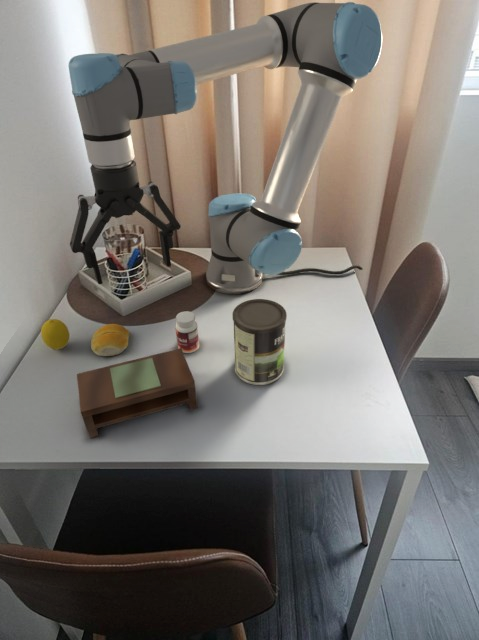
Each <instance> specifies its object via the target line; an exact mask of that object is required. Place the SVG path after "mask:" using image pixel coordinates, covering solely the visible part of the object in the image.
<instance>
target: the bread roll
mask: <svg viewBox="0 0 479 640" xmlns="http://www.w3.org/2000/svg"><path fill="white" fill-rule="evenodd" d="M129 340H130V331H129V330H128V328H126V327H125V326H124V325H121V324H118V323H108V324H104V325H102V326H100V327H99V328H98V329H97V330H95V332H94V334H93V335H92V336H91V340H90V348H91V351H92V352H93V353H94V354H95V355H97V356H100V357H112V356H117V355H120V354H121V353H122V352H123V351H124V350H126V349H127V347H128V345H129Z"/></svg>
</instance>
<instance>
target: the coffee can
mask: <svg viewBox="0 0 479 640" xmlns="http://www.w3.org/2000/svg"><path fill="white" fill-rule="evenodd" d="M232 321H233V345H234V372H235V374H236V376H237V377H238V378H239V379H240V380H241V381H243V382H245V383H247V384H249V385H254V386H265V385H269V384H272V383H275V382H276V381H277V380H279V379H280V378H281V377H282V375H283V373H284V369H285V367H284V361H285V360H284V359H285V341H286V324H287V323H286V321H287V310H286V309H285V307H284V306H283V305H282V304H280V303H278V302H276V301H273V300H271V299H265V298H253V299H248V300H245V301H243V302H240V303H239V304H238V305H237V306H236V307H235V308H234V309H233V311H232Z"/></svg>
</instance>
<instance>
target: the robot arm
mask: <svg viewBox="0 0 479 640" xmlns="http://www.w3.org/2000/svg"><path fill="white" fill-rule="evenodd" d="M381 26H382V25H381V20H380V19H379V16H378V15H377V13H376V12H375V10H374V9H373V8H372V7H370V6H368V5H366V4H361V3H355V2H353V1H348V2H315V1H314V2H307V3H302V4H299V5H296V6H293V7H291V8H287V9H284V10H280V11H277V12H274V13H271V14H267V15H263V16H261V17H260V18H259V19H258V20H257V22H256V23H255V24H251V25H246V26H243V27H238V28H233V29H230V30H225V31H222V32H218V33H214V34H209V35H205V36H202V37H197V38H193V39H189V40H185V41H181V42H177V43H172V44H169V45H164V46H161V47H156V48H152V49H148V50H145V51H141V52H135V53H131V54H127V53H117V54H115V53H109V52H104V53H103V52H98V53H84V54H78V55H75V56H73V57H71V58H70V59H69V61H68V72H69V79H70V85H71V93H72V95H73V98H74V103H75V107H76V110H77V114H78V119H79V123H80V126H81V131H82V136H83V140H84V145H85V150H86V155H87V159H88V163H90V164H91V165H90V167H89V169H90V174H91V177H92V181H93V186H94V195H90V196H89V195H87V196H84V194H78V195H77V204H78V205H77V206H78V209H77V213H76V218H75V221H74V225H73V229H72V233H71V236H70V237H71V238H70V241H69V246H70V249H71V251H72V253H74V254H78V253H80V254H82V255H83V259H84V263H85V266H86V268H88V269H92V270H93V273H94V277H95V279H96V281H97V284H98V285H102V284H104V283H103V279H102V276H101V271H100V267H99V263H98V259H97V255H96V252H95V250H94V246H95V244H96V243H97V241H98V239H99V237H100V235H101V234H102V232H103V231H104V229H105V227H106V226H107V224H108V223H110V221H111V219H112V218H115V219H119V218H121V217H123V216H133V215H134V214H135V212H137V213H139V215H141V216H143V217H144V218H145V219H147V220H148V221H149V222H150V223H151V224H153V225H154V226H156V227H157V228H158V229H159V230H160V231H158V235H159V243H160V249H161V256H162V261H163V263H164V264H165V266H166V267H167V268H169V267H172V263H171V256H170V254H171V253H170V250H171V249H173V248H174V241H173V236H174V232H175V231H176V230H178V231H179V230H180V229H181V228H182V226H181V224H180V222H179V221H178V219H177V218H176V217H175V215H174V213H173V212H172V210H170V208H169V207H168V205H167V204H166V202H165V201H164V199H163V198H162V197H161V193H160V189H159V186H157V184H156V183H155V182H154V181H149V182H148V183H147V185H143V186H141V185H140V179H139V173H138V168H137V167H138V166H137V162H136V161H135V160H134V159H135V156H136V155H135V150H134V143H133V137H132V129H131V125H130V123H131V122H130V121H136V120H141V119H147V118H153V117H162V116H169V115H178V114H180V113H184V112H187V111H190V110H192V108H194V107H195V105H196V103H197V99H198V87H197V85H201V84H205V83H208V82H212V81H215V80H219V79H223V78H227V77H229V76H233V75H236V74H240V73H243V72H247V71H251V70H254V69H258V68H261V67H264V68H265V69H266V70H274V69H278V68H284V67H285V68H286V67H289V68H290V67H291V68H298V69H297V74H298V77H299V79H300V84H301V85H300V87H299V90H298V93H297V95H296V99H295V101H294V104H293V107H292V109H291V113H290V116H289V119H288V121H287V123H286V127H285V129H284V134H283V136H282V139H281V142H280V145H279V148H278V149H277V153H276V155H275V159H274V161H273V164H272V167H271V170H270V173H269V176H268V178H267V181H266V184H265V187H264V190H263V192H262V195H261V198H260V199H258V200H256V197H255V196H254V195H252V194H249V193H239V192H238V193H237V192H236V193H229V194H228V193H227V194H224V195H219V196H216V197H215V198H213V199H212V200H211V201H210V202H209V203H208V212H207V213H208V214H207V217H208V223H209V225H208V226H209V236H210V250H211V255H210V259H209V261H208V265H207V269H206V272H205V279H206V284H207V286H208V287H209V288H210V289H212V290H213V291H215V292H218V293H221V294H226V295H239V294H240V295H241V294H245V293H249V292H252V291H253V290H256V289H257V288H258V287H259V286H260V285H261V284H262V282H263V275H267V276H276V275H277V276H287V275H289V276H290V275H295V274H300V273H306V272H307V273H308V272H314V273H323V274H327V275H343V274H347V273H348V272H350V271H352V270H354V269H358V270H359V271H363V270H364V268H363V267H362V266H361V265H359V264H353V265H351V266H349V267H347V268H345V269H342V270H327V269H322V268H315V267H308V268H300V269H293V270H289V268H291V267H292V266H293V265H294V264H295V262H296V261H297V260H298V258H299V256H300V254H301V252H302V249H303V242H302V237H301V235H300V234H299V232H298V231H299V228H300V225H301V222H302V220H301V218H300V216H299V209H300V207H301V203H302V201H303V198H304V196H305V193H306V191H307V188H308V187H309V183H310V181H311V179H312V175H313V174H314V170H315V168H316V165H317V162H318V160H319V158H320V155H321V152H322V149H323V147H324V144H325V142H326V139H327V137H328V134H329V133H330V129H331V126H332V124H333V121H334V118H335V116H336V113H337V111H338V108H339V106H340V103H341V101H342V99H343V98H344V97H346V96H348V95H350V94H351V93H353V90H354V89H355V85H356V83H357V80H360V79H362V78H365V77H367V76H368V75H369V74H370V73H372V71H373V70H374V69H375V67H376V65H377V63H378V61H379V59H380V56H381V52H382V46H383V31H382V27H381ZM144 195H146V196H147V197H149V198H150V199H152V200H153V201H154V203H155V204H156V206H157V207H158V208H159V210H160V211H161V212H162V214H163V215H164V216H165V218H166V219H167V221H168V223H166V222H164V221H163V220H162V219H161V218H159V216H158V215H156V214H154V213H153V212H152V211H150V209H148V208H147V207H146V206H144V204H142V203H141V201H142V200H143V197H144ZM95 204H96V205H97V206H98V207H99V210H98V212H97V215H96V217H95V219H94V220H93V222H92V224H91V226H90V228H89V229H88V231H87V233H86V235H85V237H84V233H85V230H86V226H87V221H88V218H89V211H90V210H92V209H93V206H94V205H95ZM83 237H84V238H83ZM286 270H289V271H286Z"/></svg>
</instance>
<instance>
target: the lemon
mask: <svg viewBox="0 0 479 640" xmlns="http://www.w3.org/2000/svg"><path fill="white" fill-rule="evenodd" d="M40 335H41V336H40V337H41V339H42V341H43V343H44V344H45V346H46V347H47V348H49V349H51V350H61V349H63V348H65V347H66V346H67V345H68V343H69V341H70V331H69V329H68V326H67V325H66V324H65V323H64V321H62V320H61V319H58V318H57V319H56V318H51V319H48V320H46V321H45V322H44V323H43V324H42V326H41V329H40Z"/></svg>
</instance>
